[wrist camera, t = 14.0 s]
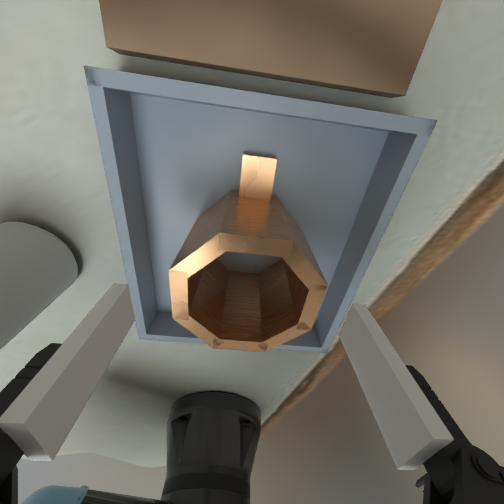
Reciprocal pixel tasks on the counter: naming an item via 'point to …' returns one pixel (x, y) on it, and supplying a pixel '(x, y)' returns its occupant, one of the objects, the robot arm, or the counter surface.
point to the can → (30, 274)
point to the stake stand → (281, 38)
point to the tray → (228, 178)
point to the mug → (242, 283)
